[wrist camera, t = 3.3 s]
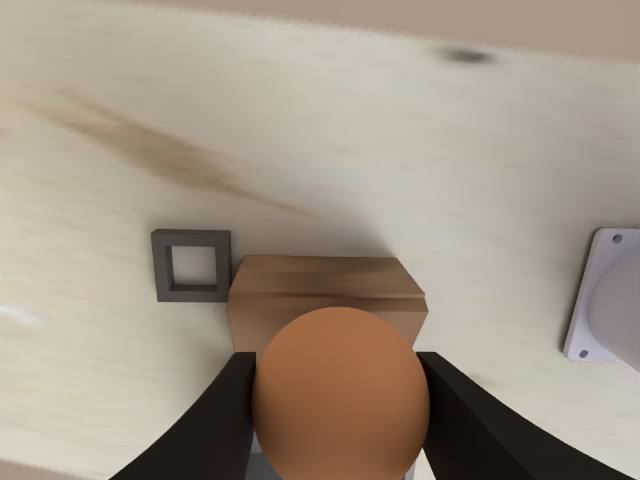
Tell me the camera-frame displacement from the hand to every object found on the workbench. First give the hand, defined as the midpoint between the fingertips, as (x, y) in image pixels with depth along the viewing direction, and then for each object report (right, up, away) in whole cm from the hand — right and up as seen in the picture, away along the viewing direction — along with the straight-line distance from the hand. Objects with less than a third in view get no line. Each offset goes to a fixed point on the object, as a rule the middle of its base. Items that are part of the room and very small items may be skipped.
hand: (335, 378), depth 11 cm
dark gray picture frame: (-7, +3, +7) cm, 10 cm away
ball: (0, 0, -1) cm, 1 cm away
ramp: (-1, +1, +8) cm, 8 cm away
